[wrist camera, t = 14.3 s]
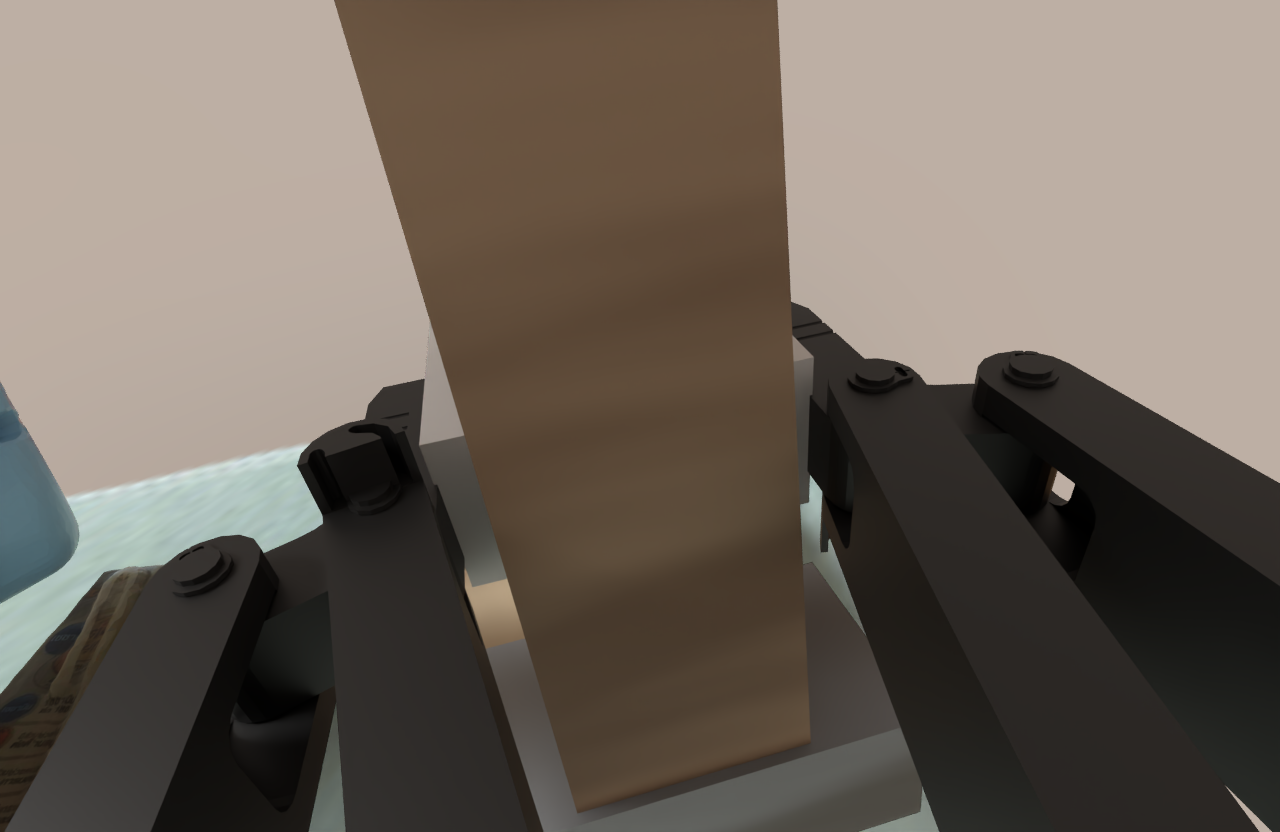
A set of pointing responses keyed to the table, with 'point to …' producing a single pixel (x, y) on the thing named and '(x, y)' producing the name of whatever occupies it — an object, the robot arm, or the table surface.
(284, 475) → the table surface
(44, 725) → the beverage carton
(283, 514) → the table surface
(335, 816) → the table surface
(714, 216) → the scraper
